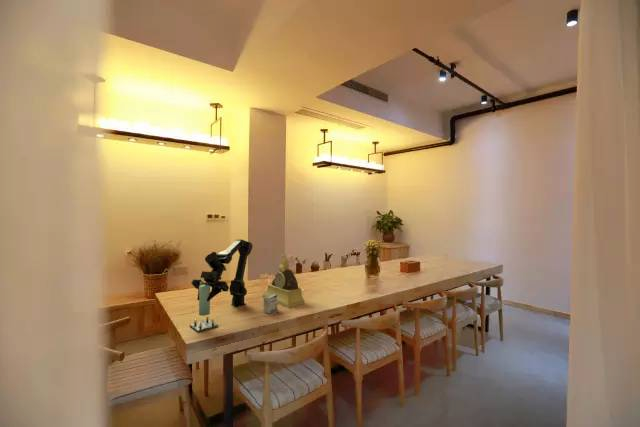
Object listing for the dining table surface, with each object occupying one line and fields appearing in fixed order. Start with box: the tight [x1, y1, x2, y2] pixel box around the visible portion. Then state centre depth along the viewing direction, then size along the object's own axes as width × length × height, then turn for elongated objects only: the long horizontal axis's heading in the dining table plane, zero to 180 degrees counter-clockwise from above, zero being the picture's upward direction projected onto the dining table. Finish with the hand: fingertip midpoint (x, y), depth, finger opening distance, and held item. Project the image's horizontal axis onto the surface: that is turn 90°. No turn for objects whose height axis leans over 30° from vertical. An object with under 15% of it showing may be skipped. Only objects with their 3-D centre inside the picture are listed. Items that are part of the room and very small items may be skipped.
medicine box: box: [263, 294, 278, 314], centre depth 162 cm, size 8×4×9 cm, turn 158°
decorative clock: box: [261, 253, 305, 309], centre depth 181 cm, size 28×13×30 cm, turn 44°
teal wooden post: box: [198, 284, 211, 317], centre depth 138 cm, size 5×5×14 cm
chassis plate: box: [189, 315, 219, 334], centre depth 139 cm, size 10×10×4 cm
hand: (202, 300), depth 137 cm, fingers closed on teal wooden post, 5 cm apart
